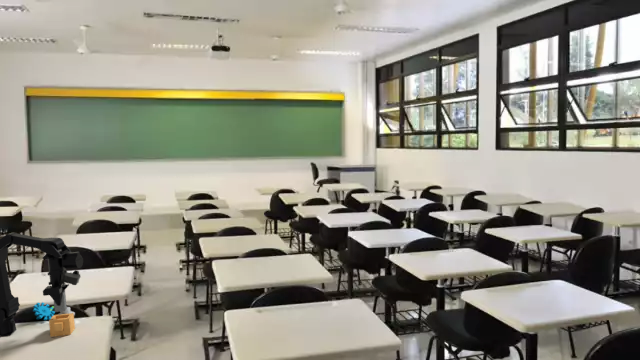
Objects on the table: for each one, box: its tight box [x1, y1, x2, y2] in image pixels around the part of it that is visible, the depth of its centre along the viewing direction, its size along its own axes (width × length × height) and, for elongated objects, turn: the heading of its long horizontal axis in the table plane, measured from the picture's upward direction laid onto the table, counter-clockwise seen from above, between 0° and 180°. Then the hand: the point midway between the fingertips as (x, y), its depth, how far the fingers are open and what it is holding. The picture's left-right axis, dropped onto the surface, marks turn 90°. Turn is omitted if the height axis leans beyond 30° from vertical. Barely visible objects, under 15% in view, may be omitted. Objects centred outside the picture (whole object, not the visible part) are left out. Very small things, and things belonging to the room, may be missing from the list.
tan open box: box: [48, 306, 76, 338], centre depth 211 cm, size 8×14×8 cm, turn 11°
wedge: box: [53, 290, 68, 313], centre depth 208 cm, size 4×2×8 cm, turn 101°
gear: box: [32, 301, 56, 321], centre depth 226 cm, size 11×6×10 cm
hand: (60, 304), depth 208 cm, fingers closed on wedge, 2 cm apart
